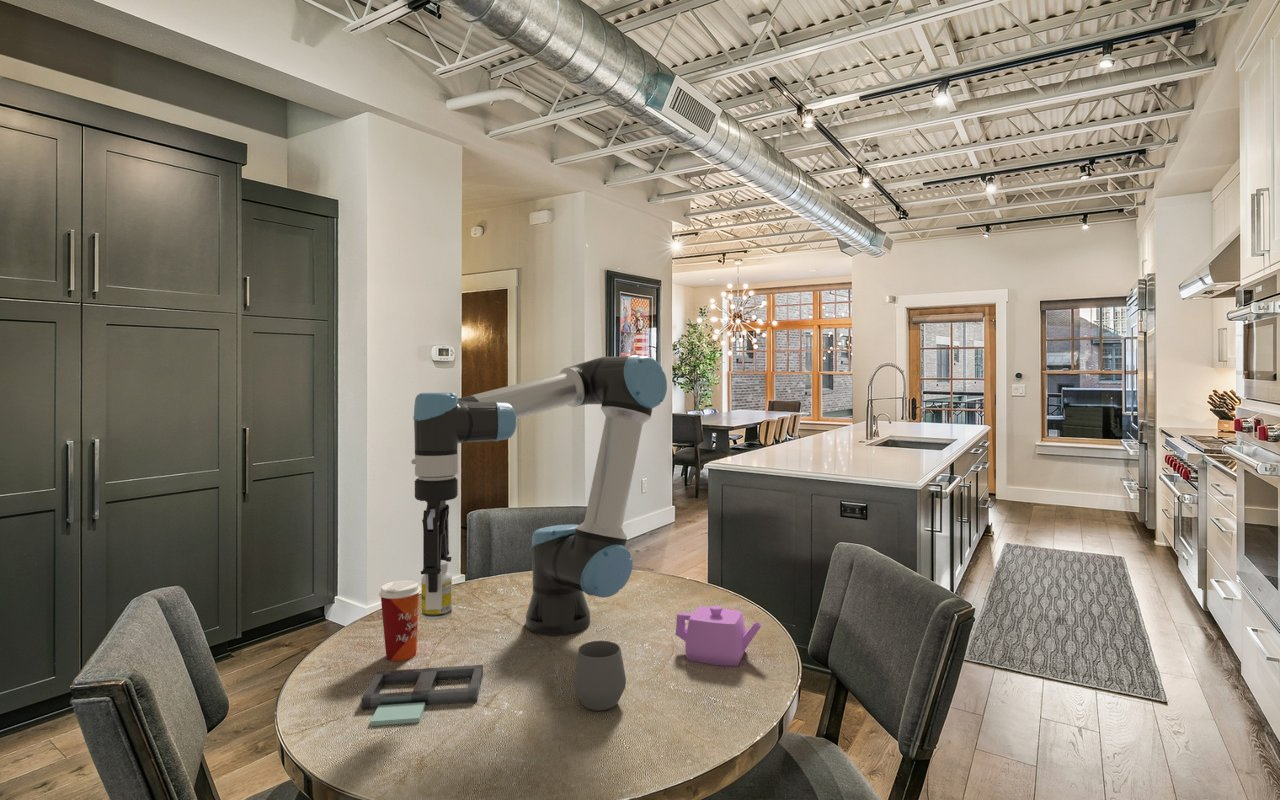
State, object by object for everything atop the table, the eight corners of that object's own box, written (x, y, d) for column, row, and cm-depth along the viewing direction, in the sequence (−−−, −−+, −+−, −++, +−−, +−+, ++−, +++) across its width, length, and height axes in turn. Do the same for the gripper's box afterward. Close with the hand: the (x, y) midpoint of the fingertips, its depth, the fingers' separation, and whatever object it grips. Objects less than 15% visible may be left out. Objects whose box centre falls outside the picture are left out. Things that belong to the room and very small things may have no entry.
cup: (577, 690, 126) (576, 638, 126) (627, 691, 126) (626, 638, 126) (570, 716, 117) (569, 660, 117) (624, 717, 117) (624, 660, 116)
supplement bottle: (425, 610, 127) (425, 558, 126) (455, 610, 127) (454, 558, 127) (418, 621, 121) (417, 566, 121) (449, 620, 122) (448, 566, 122)
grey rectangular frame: (483, 674, 134) (482, 664, 133) (477, 701, 123) (476, 690, 123) (377, 681, 131) (377, 671, 131) (361, 709, 120) (361, 698, 120)
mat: (425, 706, 121) (425, 702, 121) (419, 722, 116) (419, 717, 116) (378, 709, 120) (378, 705, 120) (370, 726, 114) (370, 721, 114)
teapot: (765, 651, 144) (765, 603, 143) (756, 672, 134) (756, 621, 133) (683, 640, 150) (683, 595, 149) (669, 660, 140) (669, 611, 139)
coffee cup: (408, 665, 138) (407, 592, 137) (372, 662, 140) (370, 590, 139) (429, 648, 146) (428, 580, 146) (395, 645, 148) (393, 578, 147)
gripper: (424, 470, 132) (425, 588, 133) (403, 485, 114) (404, 622, 115) (464, 470, 133) (464, 587, 134) (449, 484, 115) (450, 620, 116)
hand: (436, 602), depth 124 cm, fingers closed on supplement bottle, 5 cm apart
